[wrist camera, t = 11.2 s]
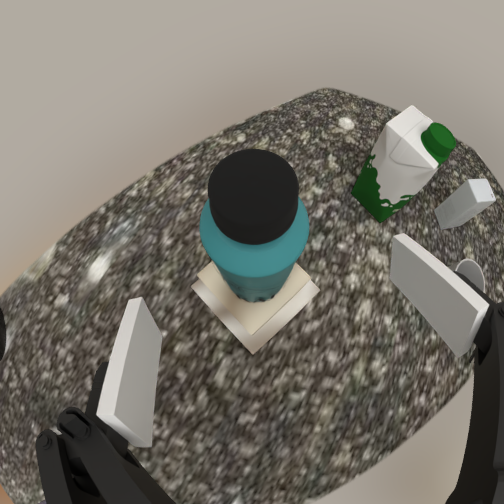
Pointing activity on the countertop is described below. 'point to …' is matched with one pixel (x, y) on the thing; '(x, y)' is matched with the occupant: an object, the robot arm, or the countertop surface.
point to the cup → (470, 272)
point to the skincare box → (464, 203)
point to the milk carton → (402, 162)
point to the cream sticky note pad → (254, 305)
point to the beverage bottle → (254, 223)
